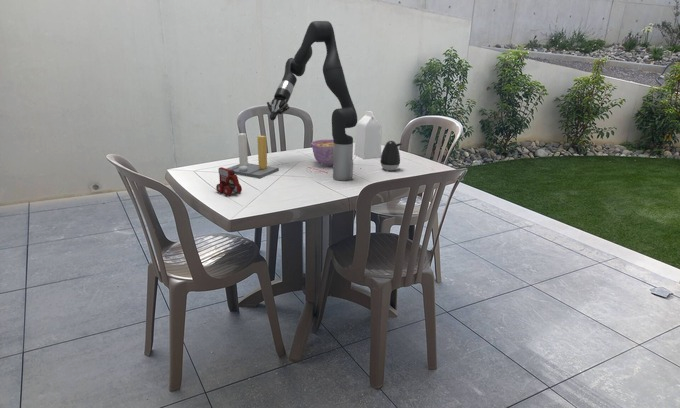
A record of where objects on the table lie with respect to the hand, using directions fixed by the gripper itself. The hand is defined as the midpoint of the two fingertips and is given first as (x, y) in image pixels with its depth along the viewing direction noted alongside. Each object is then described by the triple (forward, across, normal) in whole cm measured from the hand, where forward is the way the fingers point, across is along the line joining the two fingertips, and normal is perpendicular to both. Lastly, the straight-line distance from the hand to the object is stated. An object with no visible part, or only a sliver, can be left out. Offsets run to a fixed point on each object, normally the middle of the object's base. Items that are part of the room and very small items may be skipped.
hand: (271, 119), depth 217 cm
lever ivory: (+22, -13, +11) cm, 28 cm away
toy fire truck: (+48, +6, -13) cm, 50 cm away
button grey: (+28, -7, +5) cm, 29 cm away
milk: (-16, +34, +52) cm, 64 cm away
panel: (+26, -6, +10) cm, 28 cm away
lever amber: (+22, -1, +11) cm, 25 cm away
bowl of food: (+3, +22, +33) cm, 40 cm away
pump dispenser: (-1, +55, +36) cm, 66 cm away
